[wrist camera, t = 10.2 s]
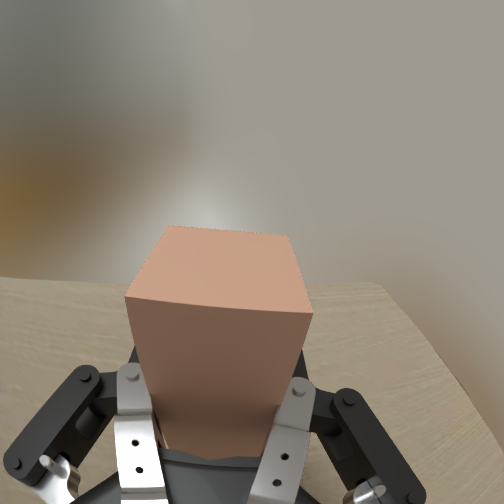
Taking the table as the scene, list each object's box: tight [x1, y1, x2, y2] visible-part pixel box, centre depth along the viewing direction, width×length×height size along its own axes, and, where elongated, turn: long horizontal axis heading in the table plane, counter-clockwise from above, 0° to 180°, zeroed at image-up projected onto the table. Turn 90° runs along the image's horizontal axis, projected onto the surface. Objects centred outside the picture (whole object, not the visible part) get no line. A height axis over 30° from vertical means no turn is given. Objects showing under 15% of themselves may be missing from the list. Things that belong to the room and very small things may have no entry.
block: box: [124, 226, 313, 460], centre depth 11 cm, size 4×4×12 cm
